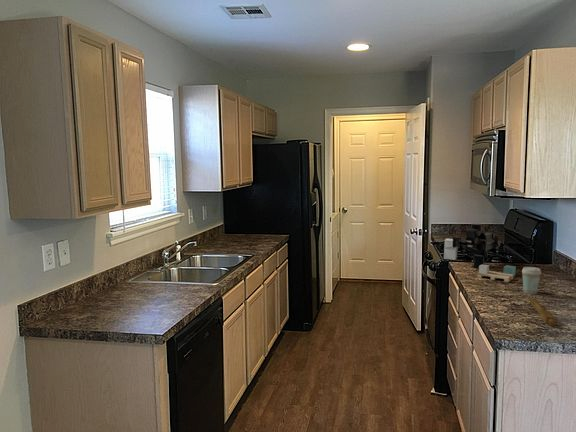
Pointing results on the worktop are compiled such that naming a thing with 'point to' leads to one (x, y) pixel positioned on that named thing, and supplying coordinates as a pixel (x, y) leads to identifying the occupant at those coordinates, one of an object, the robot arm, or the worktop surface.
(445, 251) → the supplement box
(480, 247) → the robot arm
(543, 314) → the tap handle
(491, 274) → the pallet dock
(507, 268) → the teal cube box
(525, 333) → the worktop surface
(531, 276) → the coffee cup
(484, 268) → the gray cube
